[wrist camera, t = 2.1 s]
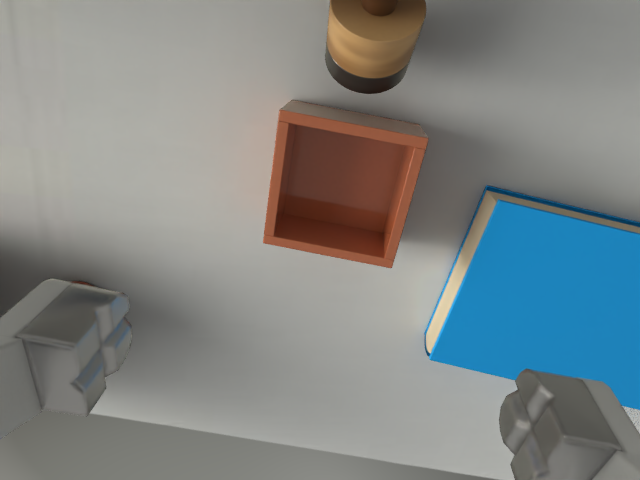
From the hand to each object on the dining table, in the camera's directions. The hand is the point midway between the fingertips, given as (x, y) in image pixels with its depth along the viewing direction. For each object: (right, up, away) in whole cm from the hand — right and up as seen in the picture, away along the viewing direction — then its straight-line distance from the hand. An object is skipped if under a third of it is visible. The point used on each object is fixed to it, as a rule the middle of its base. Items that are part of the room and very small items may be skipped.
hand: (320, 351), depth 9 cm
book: (+24, -3, +31) cm, 40 cm away
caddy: (+2, +8, +28) cm, 29 cm away
